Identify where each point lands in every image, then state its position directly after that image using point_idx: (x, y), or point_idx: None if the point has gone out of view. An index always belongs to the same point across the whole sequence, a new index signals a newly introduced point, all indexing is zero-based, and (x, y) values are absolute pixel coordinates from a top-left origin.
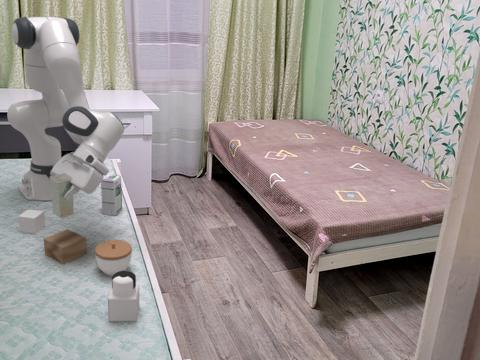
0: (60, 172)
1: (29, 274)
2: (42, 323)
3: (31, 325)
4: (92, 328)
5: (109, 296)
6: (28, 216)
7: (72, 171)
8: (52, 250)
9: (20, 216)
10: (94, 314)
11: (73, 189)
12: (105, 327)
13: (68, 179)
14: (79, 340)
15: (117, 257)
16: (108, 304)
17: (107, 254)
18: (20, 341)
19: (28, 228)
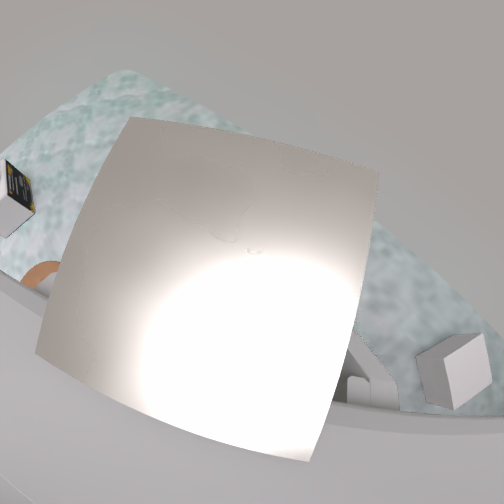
0: (418, 453)
1: None
2: (113, 116)
3: (126, 105)
4: (44, 154)
5: (3, 162)
6: (464, 353)
7: (96, 499)
8: None
9: (478, 336)
10: (52, 177)
11: (54, 279)
12: (30, 167)
13: (64, 286)
14: (52, 130)
15: (22, 280)
16: (10, 164)
17: (40, 273)
18: (120, 84)
19: (440, 347)
